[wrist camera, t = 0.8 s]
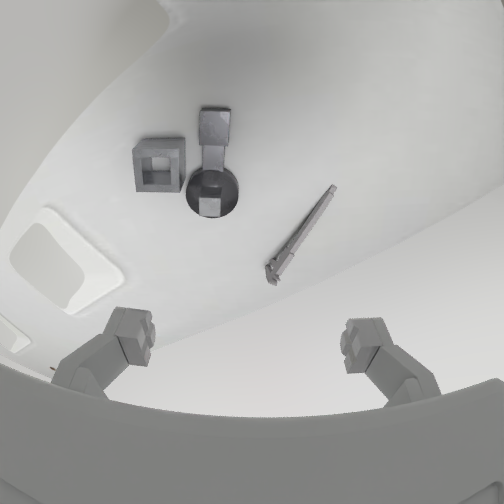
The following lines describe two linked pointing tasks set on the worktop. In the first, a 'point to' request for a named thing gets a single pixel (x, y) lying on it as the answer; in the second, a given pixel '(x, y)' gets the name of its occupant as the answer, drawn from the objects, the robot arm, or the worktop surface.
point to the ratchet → (213, 168)
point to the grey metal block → (159, 179)
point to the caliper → (298, 239)
